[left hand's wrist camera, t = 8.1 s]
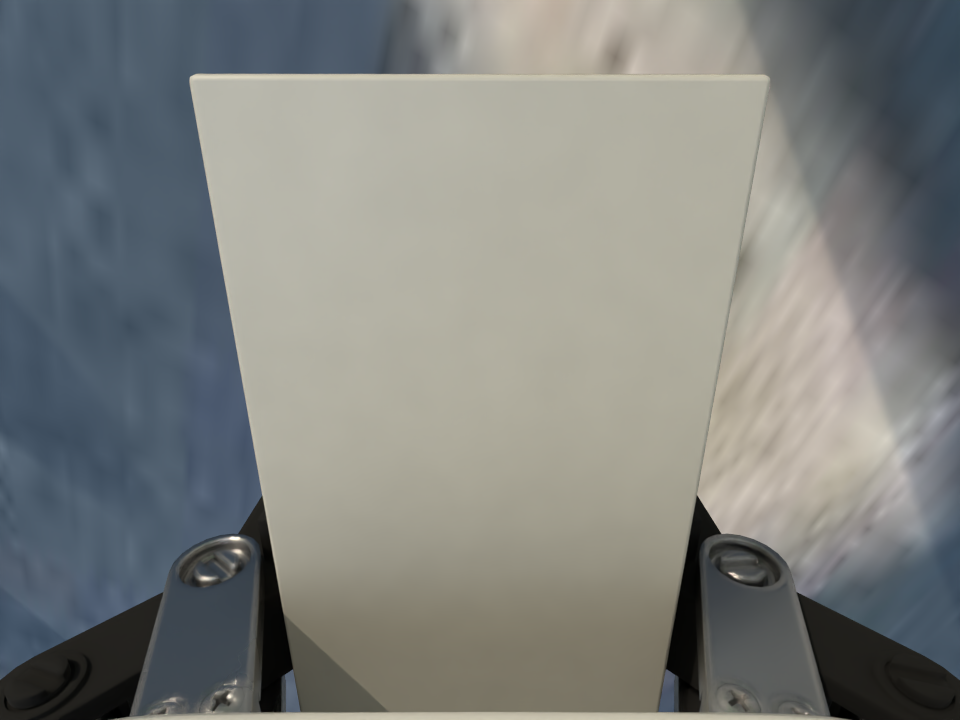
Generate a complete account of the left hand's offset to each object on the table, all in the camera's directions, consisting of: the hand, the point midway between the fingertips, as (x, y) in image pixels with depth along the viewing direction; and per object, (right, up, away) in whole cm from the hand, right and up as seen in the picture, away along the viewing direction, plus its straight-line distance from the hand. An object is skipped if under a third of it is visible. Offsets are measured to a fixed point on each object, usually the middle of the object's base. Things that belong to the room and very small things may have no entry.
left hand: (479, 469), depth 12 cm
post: (0, -27, +12) cm, 29 cm away
